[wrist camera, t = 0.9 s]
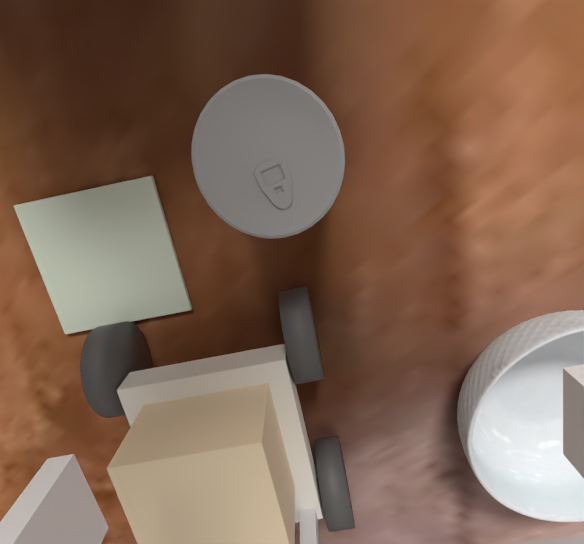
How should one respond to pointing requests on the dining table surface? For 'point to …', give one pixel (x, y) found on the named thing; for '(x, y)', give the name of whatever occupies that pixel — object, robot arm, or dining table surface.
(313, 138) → the canned food
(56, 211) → the mat
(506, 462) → the cereal bowl
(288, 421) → the trolley
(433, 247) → the dining table surface
